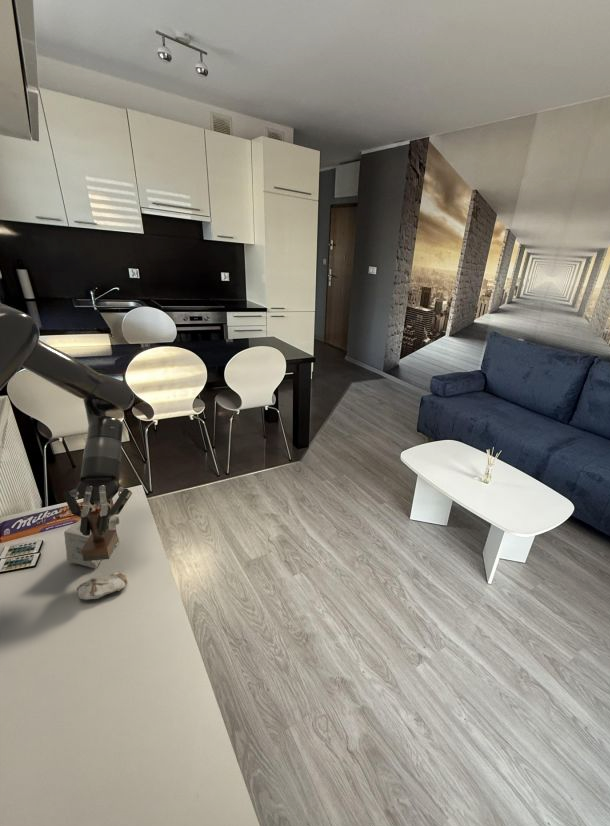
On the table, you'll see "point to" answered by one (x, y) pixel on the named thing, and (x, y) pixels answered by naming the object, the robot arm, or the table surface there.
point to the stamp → (98, 540)
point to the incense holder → (82, 542)
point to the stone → (101, 586)
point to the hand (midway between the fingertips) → (93, 534)
